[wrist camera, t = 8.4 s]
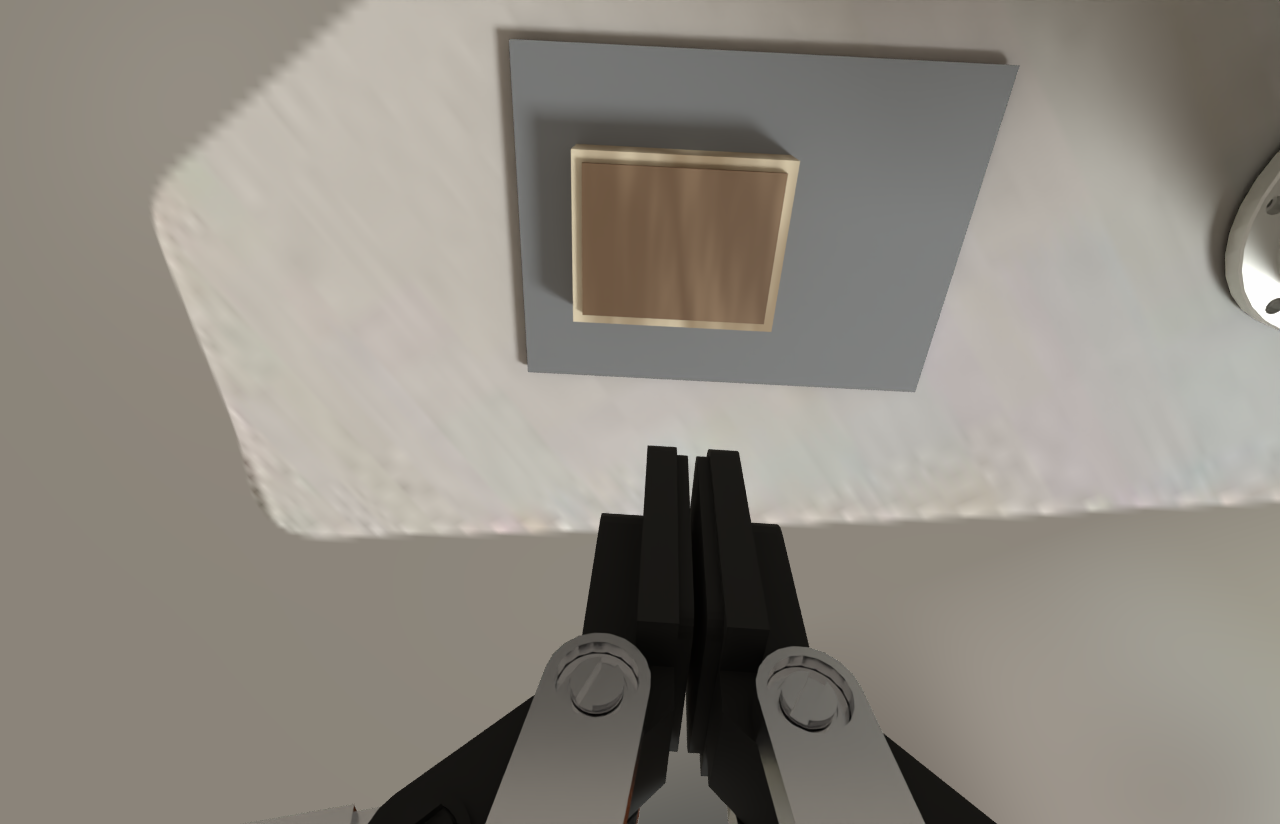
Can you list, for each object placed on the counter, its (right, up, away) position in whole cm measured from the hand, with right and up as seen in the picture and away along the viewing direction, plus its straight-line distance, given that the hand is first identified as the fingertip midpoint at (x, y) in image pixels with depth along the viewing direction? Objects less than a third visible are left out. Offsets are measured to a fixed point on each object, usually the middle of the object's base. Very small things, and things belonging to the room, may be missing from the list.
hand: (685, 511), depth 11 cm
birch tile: (+6, +10, +17) cm, 21 cm away
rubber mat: (+4, +11, +19) cm, 22 cm away
